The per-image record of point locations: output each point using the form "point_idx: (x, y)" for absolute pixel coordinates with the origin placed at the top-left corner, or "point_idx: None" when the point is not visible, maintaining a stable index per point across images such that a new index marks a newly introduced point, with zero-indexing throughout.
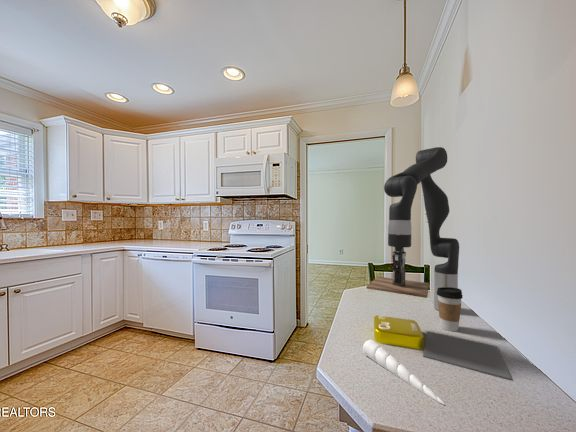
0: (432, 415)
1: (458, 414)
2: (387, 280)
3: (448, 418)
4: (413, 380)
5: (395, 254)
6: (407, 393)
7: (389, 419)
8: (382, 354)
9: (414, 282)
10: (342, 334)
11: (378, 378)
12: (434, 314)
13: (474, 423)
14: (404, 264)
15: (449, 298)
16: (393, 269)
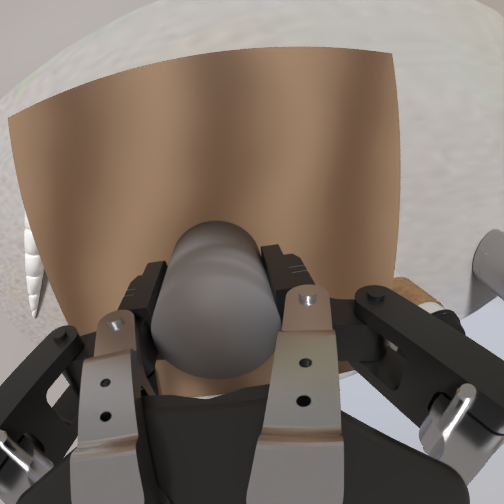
0: (9, 306)
1: (35, 330)
2: (298, 151)
3: (20, 321)
4: (27, 281)
5: (25, 494)
6: (14, 272)
7: None
8: (26, 219)
9: None
10: (111, 47)
11: (7, 222)
12: (456, 238)
13: (38, 343)
14: (381, 365)
15: (398, 351)
16: (48, 339)
